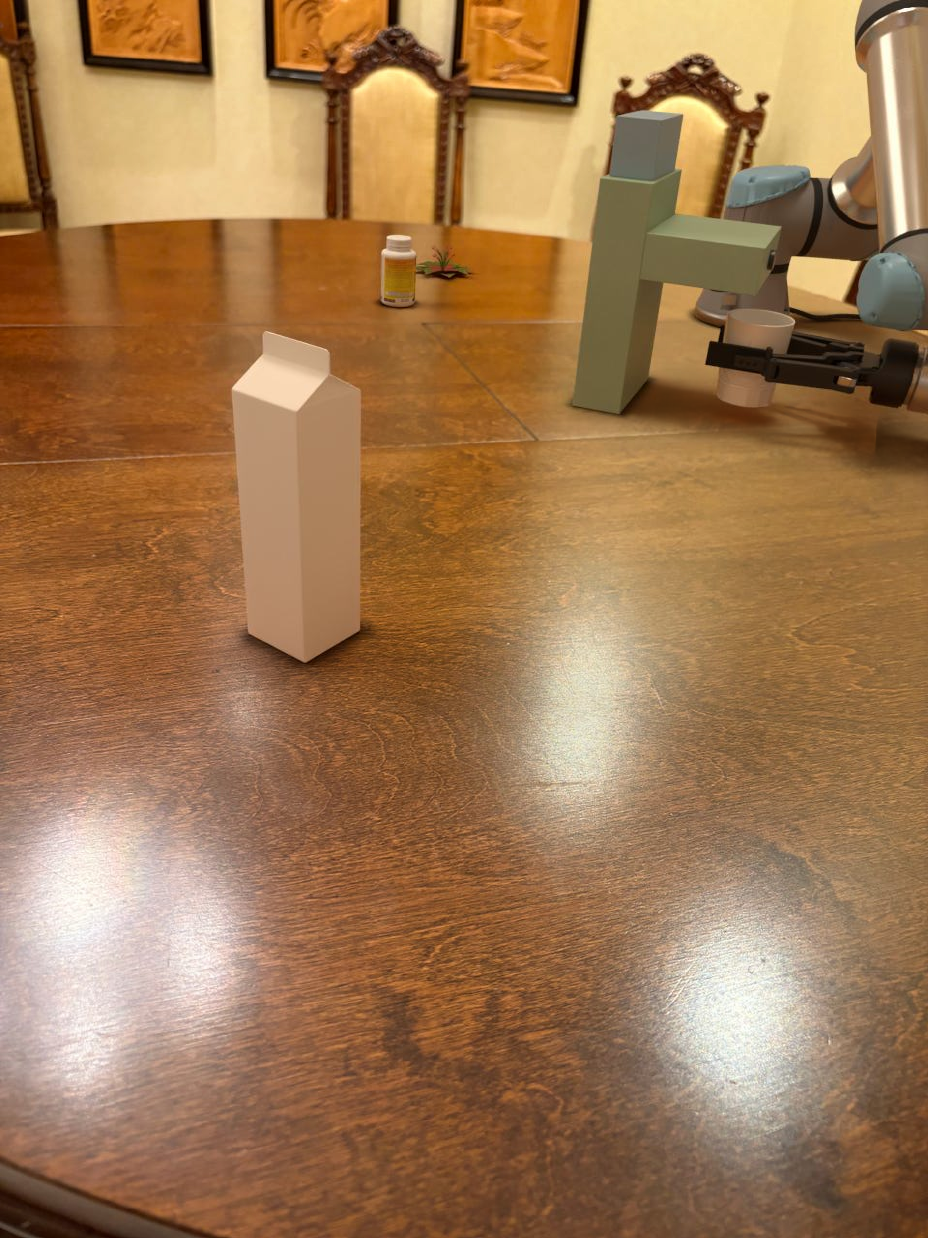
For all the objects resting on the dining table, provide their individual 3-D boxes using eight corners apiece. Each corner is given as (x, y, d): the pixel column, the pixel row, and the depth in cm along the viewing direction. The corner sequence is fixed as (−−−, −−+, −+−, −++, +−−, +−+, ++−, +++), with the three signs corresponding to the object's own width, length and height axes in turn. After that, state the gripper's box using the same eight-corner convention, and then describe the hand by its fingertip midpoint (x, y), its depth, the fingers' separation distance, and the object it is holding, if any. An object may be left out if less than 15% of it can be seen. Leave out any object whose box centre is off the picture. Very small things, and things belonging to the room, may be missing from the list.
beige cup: (778, 413, 116) (798, 329, 111) (711, 405, 117) (727, 321, 112) (774, 392, 122) (792, 312, 117) (710, 385, 124) (726, 305, 118)
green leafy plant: (486, 273, 180) (488, 247, 178) (451, 283, 171) (453, 256, 169) (433, 262, 185) (434, 237, 183) (396, 272, 176) (397, 245, 174)
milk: (304, 604, 76) (295, 321, 65) (361, 631, 74) (363, 340, 62) (246, 634, 72) (226, 337, 61) (304, 665, 69) (295, 359, 58)
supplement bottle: (420, 306, 156) (422, 240, 151) (388, 308, 154) (389, 241, 149) (406, 298, 161) (408, 233, 155) (375, 300, 158) (376, 234, 153)
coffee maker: (749, 396, 127) (809, 124, 110) (731, 435, 114) (795, 134, 98) (605, 371, 133) (641, 108, 116) (572, 405, 120) (607, 116, 103)
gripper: (922, 323, 117) (733, 295, 124) (922, 367, 101) (704, 332, 108) (903, 383, 121) (721, 353, 128) (901, 435, 105) (692, 398, 112)
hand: (713, 344), depth 118 cm, fingers closed on beige cup, 8 cm apart
